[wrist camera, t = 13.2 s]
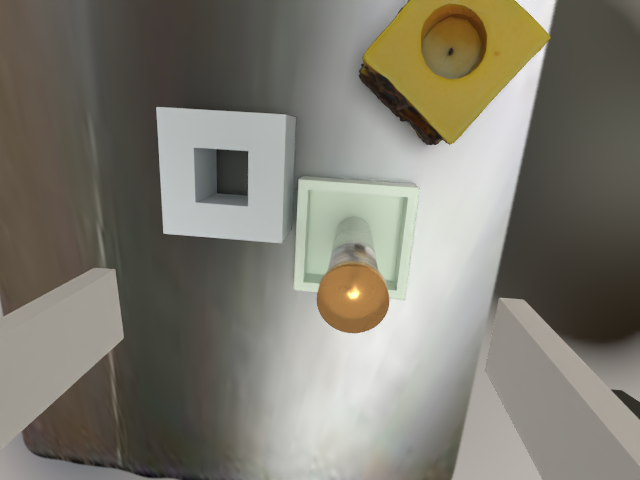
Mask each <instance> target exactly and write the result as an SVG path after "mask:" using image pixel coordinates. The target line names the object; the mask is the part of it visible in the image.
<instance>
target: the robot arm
mask: <svg viewBox="0 0 640 480" xmlns="http://www.w3.org/2000/svg"><path fill="white" fill-rule="evenodd" d="M123 338H124V335H123V327H122V320H121V312H120V304H119V296H118V289H117V281H116V273H115V269H104V268H93V269H91V270H89V271H87V272H86V273H84V274H82V275H80V276H78V277H76V278H74V279H73V280H71V281H69V282H67V283H65V284H63V285H61V286H60V287H58V288H56V289H54V290H52V291H50V292H49V293H47V294H45V295H43V296H41V297H39V298H37V299H36V300H34V301H32V302H30V303H28V304H26V305H24V306H23V307H21V308H19V309H17V310H15V311H13V312H11V313H10V314H8V315H6V316H4V317H2V318H0V450H1V449H2V448H4V447H5V446H6V445H7V444H8V443H9V442H10V441H11V440H12V439H13V438H15V437H16V436H17V435H18V434H19V433H20V432H21V431H22V430H23V429H24V428H26V427H27V426H28V425H29V424H30V423H31V422H32V421H33V420H34V419H35V418H37V417H38V416H39V415H40V414H41V413H42V412H43V411H44V410H45V409H46V408H48V407H49V406H50V405H51V404H52V403H53V402H54V401H55V400H56V399H57V398H59V397H60V396H61V395H62V394H63V393H64V392H65V391H66V390H67V389H68V388H70V387H71V386H72V385H73V384H74V383H75V382H76V381H77V380H78V379H79V378H81V377H82V376H83V375H84V374H85V373H86V372H87V371H88V370H89V369H90V368H92V367H93V366H94V365H95V364H96V363H97V362H98V361H99V360H100V359H101V358H103V357H104V356H105V355H106V354H107V353H108V352H109V351H110V350H111V349H112V348H114V347H115V346H116V345H117V344H118V343H119V342H120V341H121V340H122V339H123ZM485 371H486V373H487V375H488V376H489V379H490V381H491V382H492V384H493V386H494V388H495V390H496V392H497V394H498V396H499V398H500V399H501V401H502V403H503V405H504V407H505V409H506V411H507V413H508V415H509V417H510V418H511V420H512V422H513V424H514V426H515V428H516V430H517V432H518V434H519V436H520V437H521V439H522V441H523V443H524V445H525V447H526V449H527V451H528V453H529V454H530V456H531V458H532V460H533V462H534V464H535V466H536V468H537V470H538V471H539V473H540V475H541V477H542V479H543V480H640V402H639V401H637V400H636V399H634V398H633V397H631V396H629V395H628V394H626V393H625V392H623V391H621V390H611V389H609V388H608V387H607V386H606V384H605V383H604V382H603V381H602V380H601V379H600V378H599V377H598V376H597V375H596V374H595V373H594V372H593V371H592V370H591V369H590V368H589V367H588V366H587V365H586V364H585V363H584V362H583V361H582V360H581V359H580V358H579V356H578V355H577V354H576V353H575V352H573V350H572V349H571V348H570V347H569V346H568V345H567V344H566V343H565V342H564V341H563V340H562V339H561V338H560V337H559V336H558V335H557V334H556V333H555V332H554V331H553V330H552V328H550V326H549V325H548V324H547V323H546V322H545V321H544V320H543V319H542V318H541V317H540V316H539V315H538V314H537V313H536V312H535V311H534V310H533V309H532V308H531V307H530V306H529V305H528V304H527V303H526V302H525V301H524V300H522V299H507V298H499V302H498V307H497V312H496V317H495V322H494V328H493V333H492V338H491V343H490V348H489V353H488V359H487V363H486V368H485Z"/></svg>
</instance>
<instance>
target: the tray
mask: <svg viewBox="0 0 640 480" xmlns="http://www.w3.org/2000/svg"><path fill="white" fill-rule="evenodd" d="M419 190H420V188H419V187H418V186H417V185H416V184H411V183H397V182H382V181H368V180H354V179H339V178H325V177H311V176H302V177H301V178H300V179H299V181H298V204H297V227H296V251H295V274H294V290H300V291H311V292H318V288H319V285H320V281H321V279H322V277H323V276H324V274H325V273H326V272H327V271H328V268H329V263H330V258H331V253H332V248H333V243H334V238H335V233H336V229H337V227H338V225H339V224H340V223H341V222H342V221H343V220H345V219H347V218H350V217H357V218H361V219H363V220H364V221H366V222H367V223H368V225H369V226H370V228H371V231H372V237H373V243H374V249H375V254H376V260H377V266H378V271H379V272H380V274H381V275H382V276H383V278H384V280H385V282H386V285H387V289H388V294H389V299H399V300H405V296H406V289H407V281H408V273H409V266H410V258H411V251H412V243H413V235H414V228H415V220H416V213H417V205H418V198H419Z"/></svg>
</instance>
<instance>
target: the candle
mask: <svg viewBox="0 0 640 480" xmlns="http://www.w3.org/2000/svg"><path fill="white" fill-rule="evenodd" d="M398 13H399V14H398V15H397V16H396V17H395V19H394V20H393V21H392V22H391V23H390V25H389V26H388V27H387V28H386V29H385V30H384V31H383V32H382V33H381V34H380V35H379V36H378V38H377V39H376V40H375V41H374V42H373V43H372V45H371V46H370V47H369V48H368V49H367V51H366V52H365V54H364V55H363V57H362V58H363V62H364V64H361V66H362V68H361V69H360V71H359V73H360V75H359V77H360V79H361V81H362V82H363V83H364V84H365V85H366V86H367V87H369V88H370V89H371V91H372V92H373V93H374V94H375V95H376V96H377V97H378V99H380V100H381V101H382V102H383V103H384V104H385V105H386V106H387V107H388V108H390V110H391V111H392V112H393V113H394V114H395V115H396V116H397V117H400V120H401V121H408V122H410V124H411V125H412V127H413V128H414V129H415V130H416V132H417V134H418V136H419V138H421V139H422V140H423V142H425V143H426V144H427V145H432V144H434V145H436V144H438V143H439V142H440V141H441V140H444V141H445V142H446V143H448V144H449V145H450V144H452V143H454V142H455V141H456V140H457V139H458V138H459V137H460V136H461V135H462V134H463V132H464V131H465V130H466V129H467V128H468V126H469V125H470V124H471V123H472V122H473V121H474V120H475V119H476V118H477V117H478V116H479V114H480V113H481V112H482V111H483V110H484V109H485V107H486V106H487V105H488V104H489V103H490V102H491V101H492V100H493V99H494V98H495V96H496V95H497V94H498V93H499V92H500V91H501V90H502V89H503V88H504V87H505V86H506V85H507V84H508V83H509V81H510V80H511V79H512V78H513V77H514V76H515V75H516V74H517V73H518V72H519V71H520V70H521V69H522V68H523V67H524V65H525V64H526V63H527V62H528V61H529V60H530V59H531V58H532V57H533V56H534V55H535V54H536V53H537V52H539V51H540V50H541V48H542V47H543V46H544V45H545V44H546V43H547V41H548V40H549V39H550V38H551V37H550V36H549V35H548V33H547V32H546V31H545V30H544V29H543V28H542V27H541V26H540V25H539V24H538V23H537V21H536V20H535V19H534V18H533V17H532V16H531V15H530V14H529V13H528V12H527V11H526V10H524V9H523V8H522V7H521V6H520V5H519V4H518V3H517V2H516V1H515V0H409V1H408V2H407V4H406V5H405V6H404V7H403V8H402V9H401V10H400V11H399V12H398Z"/></svg>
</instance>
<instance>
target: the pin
mask: <svg viewBox="0 0 640 480" xmlns="http://www.w3.org/2000/svg"><path fill="white" fill-rule="evenodd" d="M317 306H318V309H319V312H320V314H321V316H322V317H323V319H324V320H325V321H326V322H327V323H328V324H329V325H331V326H332V327H333V328H335V329H337V330H340V331H343V332H347V333H360V332H365V331H368V330H370V329H372V328H374V327H375V326H377V325H378V324H379V323H380V322H381V321H382V320H383V318H384V317H385V315H386V313H387V310H388V307H389V294H388V289H387V285H386V282H385V280H384V278H383V276H382V275H381V274H380V272H379V271H378V266H377V260H376V254H375V249H374V243H373V237H372V231H371V228H370V226H369V225H368V223H367V222H366V221H364V220H363V219H361V218H357V217H350V218H347V219H345V220H343V221H342V222H341V223H340V224H339V225H338V227H337V229H336V233H335V238H334V243H333V248H332V253H331V258H330V263H329V268H328V271H327V272H326V273H325V274H324V276H323V277H322V279H321V281H320V285H319V288H318V293H317Z"/></svg>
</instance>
